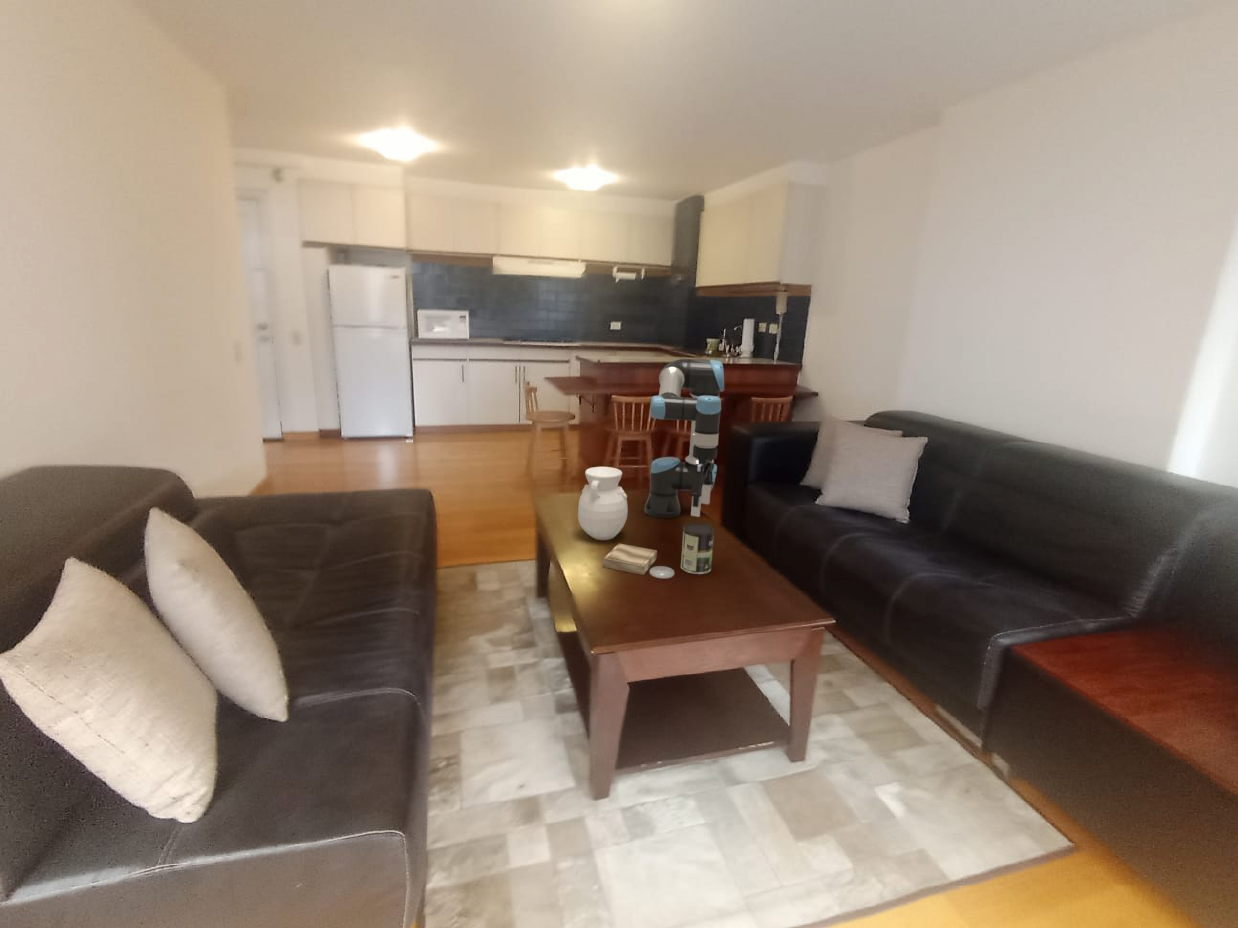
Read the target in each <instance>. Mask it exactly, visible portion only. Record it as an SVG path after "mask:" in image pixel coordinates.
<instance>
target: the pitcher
mask: <svg viewBox="0 0 1238 928" xmlns="http://www.w3.org/2000/svg"><path fill="white" fill-rule="evenodd" d="M584 474H585V478H586V479H587V482H588V484H585V485H584V486H583V489H582V490H581V493H582V494H581V495H580V497H579V500H578V509H577V518H578V522H579V525H580V527H581V529H582V530H583V531H584V533H586V534H587V535H589V536H590V537H591V538H593V539H594V540H598V541H608V540H609V541H611V540H612V539H614V538H615V537H617V535H618V534H619V533H620V532H621V531H622V530H623V528H624V526H625V524H626V521H627V519H628V513H629V511H628V510H629V509H628V508H629V507H628V500H627V498H628V495H627V494H626V493H625V490H624V489H623V488H622V487H623V486H620V485H619V482H620V481H621V479H622V476H623V472H622V470H620V469H618V468H615V467H610V466H595V467H589V468H587V469H585V473H584Z"/></svg>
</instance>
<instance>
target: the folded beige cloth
mask: <svg viewBox="0 0 1238 928" xmlns="http://www.w3.org/2000/svg"><path fill="white" fill-rule="evenodd" d="M657 555H658V550H656V549H651V548H646V547H640V546H636V545H629V544H624V543H618V544H616V545H615V547H613V548H612V550H611V551H609V553H608V554H607V555H605V557H603V561H602V562H603V563H602V564H603V565H602V567H603V568H606V569H613V570H617V571H621V572H626V573H632V574H635V575H640V576H644V575H646V572H647V571H648V570H650V569H651V566H652V565H653V564H654V563H655V562H656V560H657V558H658V556H657Z"/></svg>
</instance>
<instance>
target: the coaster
mask: <svg viewBox="0 0 1238 928" xmlns="http://www.w3.org/2000/svg"><path fill="white" fill-rule="evenodd" d="M649 575H650V576H651V577H654V578H656V579H671V578H673V577H674V576H675V570H674V569H672V568H671V567H669V566H664V565H663V566H662V565H658V566H653V567H650V568H649Z"/></svg>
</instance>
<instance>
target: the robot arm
mask: <svg viewBox="0 0 1238 928" xmlns="http://www.w3.org/2000/svg"><path fill="white" fill-rule="evenodd" d="M724 373H725V372H724V365H723V363H722V361H721V360H714V359H704V358H703V359H699V358H697V359H696V358H680V359H675V360H673V361H671V362H670V363H667V364H666V365H665V366H664V367H663V368H662V369H661V371H660V373H659V375H658V376H659V377H658V383H659V385H660V387H659V393H658V395H654V396H652V397H651V400H650V410H649V411H650V417H651V418H652V419H656V420H657V419H658V420H672V421H689V422H691V425H690V441H689V452H688V453H689V454H688V455H687V456H686V457H685V459H684V460H685V461H684V462H683V461H682V462H681V460H680V458H679V457H674V456H665V457H659V458H656V459H654V460H653V461H652V462H651V466H650V468H651V469H650V471H649V473H650V482H649V483H650V484H649V495H648V497H647V500H646V502H645V504H644V513H645V514H646V515H648V516H650V517H652V518H658V519H659V518H660V519H672V518H678V517H679V516H680V515H681V510H682V508H681V504H680V501H679V497H678V494H679V492H678V491H685V492H687V491H688V492H689V496H690V497H691V509H690V510H691V511H690V516H691V517H696V518H697V517H698V518H699V517H701V507H702V506H701V505H702V504H703V505H710V499H711V491H712V490H713V488H714V485H715V481H716V476H717V471H718V466H717V464H715V463H714V462H715V461H714V460H715V459H717V455H718V447H717V446H719V434H720V431H719V429H720V419H721V411H722V400H721V398H720V395H721V392H724V391H725V374H724ZM682 390H689V395H690V396H691V397H683V396H681V394H682V393H681V392H682Z"/></svg>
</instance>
